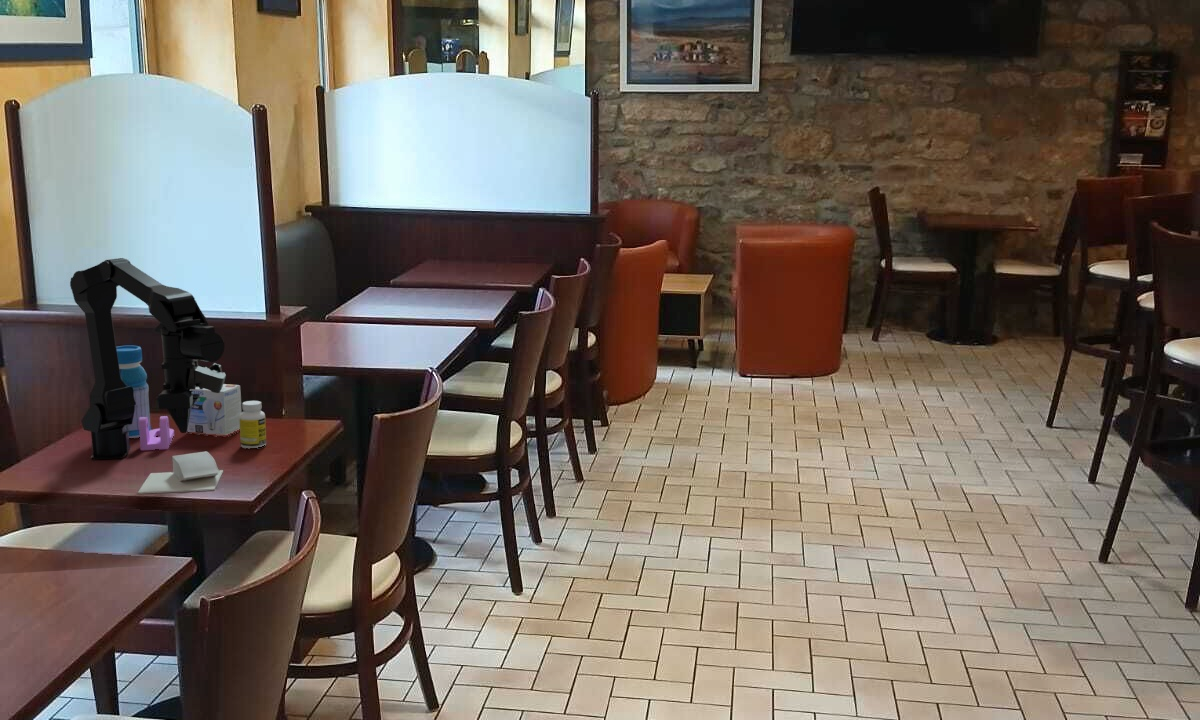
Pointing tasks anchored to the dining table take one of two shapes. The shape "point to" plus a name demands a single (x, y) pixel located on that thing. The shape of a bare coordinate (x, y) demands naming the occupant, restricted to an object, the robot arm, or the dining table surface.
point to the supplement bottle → (252, 425)
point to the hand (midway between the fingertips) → (184, 432)
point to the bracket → (155, 434)
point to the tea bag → (194, 466)
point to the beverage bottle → (134, 384)
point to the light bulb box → (216, 411)
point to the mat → (177, 483)
